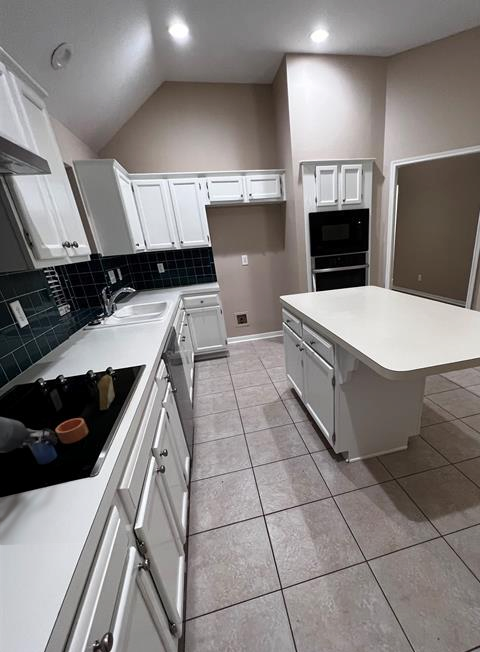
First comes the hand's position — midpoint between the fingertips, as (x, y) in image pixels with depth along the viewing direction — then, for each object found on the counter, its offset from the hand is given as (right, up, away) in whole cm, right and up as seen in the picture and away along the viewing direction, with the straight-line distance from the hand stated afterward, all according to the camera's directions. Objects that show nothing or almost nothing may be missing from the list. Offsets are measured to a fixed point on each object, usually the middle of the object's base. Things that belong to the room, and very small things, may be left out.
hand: (45, 442), depth 86 cm
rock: (+1, +8, +27) cm, 28 cm away
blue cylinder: (+1, -4, 0) cm, 5 cm away
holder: (+1, 0, +10) cm, 10 cm away
